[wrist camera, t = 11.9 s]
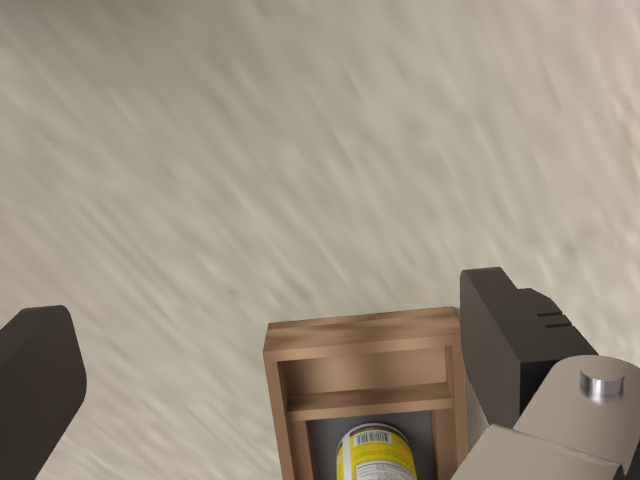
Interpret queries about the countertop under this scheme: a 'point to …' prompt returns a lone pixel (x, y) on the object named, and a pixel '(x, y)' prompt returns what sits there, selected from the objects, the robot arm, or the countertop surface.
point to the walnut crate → (368, 388)
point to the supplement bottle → (374, 454)
